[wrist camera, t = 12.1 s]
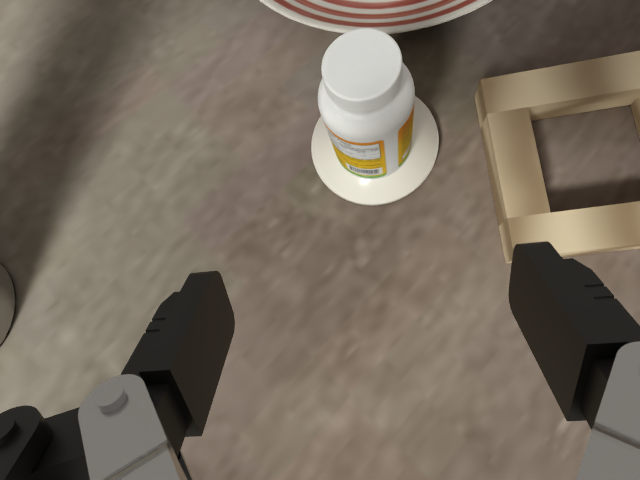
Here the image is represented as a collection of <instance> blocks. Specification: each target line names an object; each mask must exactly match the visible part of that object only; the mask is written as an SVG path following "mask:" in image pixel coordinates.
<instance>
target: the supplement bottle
mask: <svg viewBox="0 0 640 480" xmlns="http://www.w3.org/2000/svg"><path fill="white" fill-rule="evenodd" d="M321 70H322V77H323V78H322V80H321V83H320V86H319V90H318V105H319V110H320V113H321V116H322V119H323V122H324V124H325V127H326V129H327V132H328V135H329V137H330V140H331V142H332V145H333V148H334V151H335V153H336V156H337V158H338V160H339V162H340V164H341V165H342V166H343V168H344V169H345V170H346V171H348V172H349V173H350V174H352V175H354V176H356V177H359V178H362V179H368V180H375V179H381V178H384V177H387V176H389V175H391V174H393V173H394V172H396V171H397V170H398V169H399V168H400V167H401V166H402V165H403V164H404V163H405V161H406V159H407V158H408V156H409V153H410V150H411V144H412V131H413V116H414V102H415V88H414V82H413V79H412V76H411V74H410V72H409V70H408V68H407V67H406V66H405V64H404V63H403V62H402V54H401V51H400V48H399V46H398V44H397V43H396V42H395V40H394V39H393V38H392V37H391V36H389V35H388V34H386V33H385V32H383V31H380V30H377V29H372V28H360V29H355V30H352V31H349V32H346V33H345V34H343V35H341V36H340V37H338V38H337V39H336V40H335V41H333V43H332V44H331V45H330V46H329V47H328V49H327V50H326V52H325V54H324V57H323V60H322V66H321Z"/></svg>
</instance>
